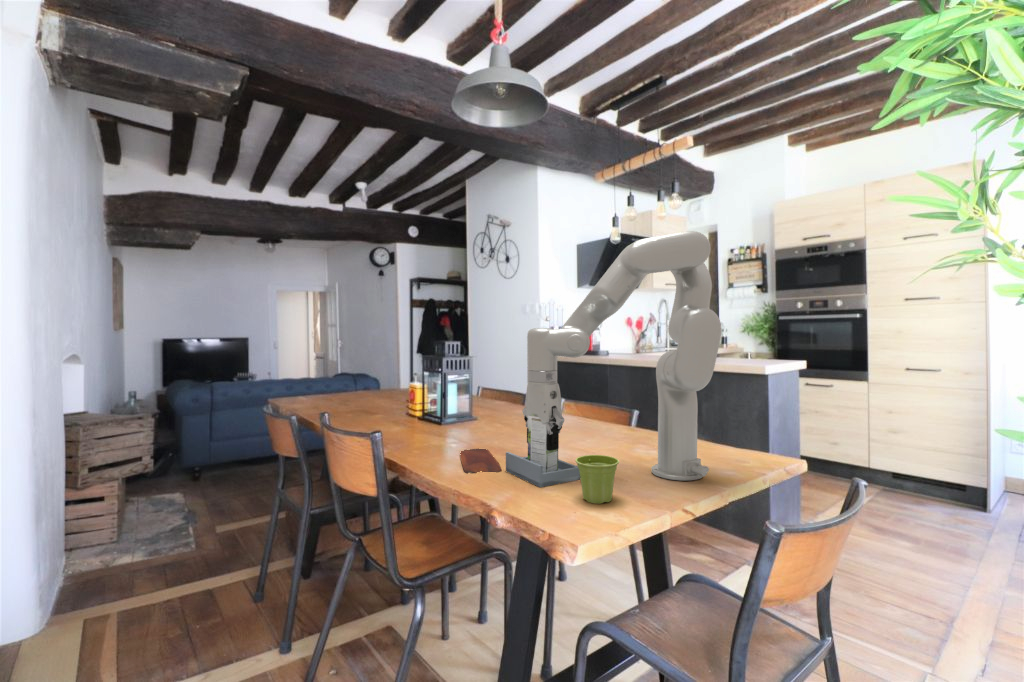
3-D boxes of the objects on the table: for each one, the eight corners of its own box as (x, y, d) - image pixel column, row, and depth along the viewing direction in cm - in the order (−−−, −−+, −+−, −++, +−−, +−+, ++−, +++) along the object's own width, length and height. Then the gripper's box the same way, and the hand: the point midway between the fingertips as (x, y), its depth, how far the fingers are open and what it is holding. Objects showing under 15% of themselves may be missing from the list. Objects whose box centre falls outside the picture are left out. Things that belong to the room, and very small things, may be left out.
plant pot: (570, 504, 108) (570, 463, 108) (580, 490, 117) (580, 453, 117) (615, 509, 105) (615, 467, 105) (621, 495, 114) (622, 456, 113)
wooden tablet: (503, 474, 132) (503, 468, 132) (464, 476, 130) (464, 470, 130) (489, 450, 158) (489, 444, 158) (457, 451, 156) (457, 445, 156)
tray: (580, 479, 125) (580, 459, 125) (539, 487, 119) (539, 466, 119) (544, 464, 139) (544, 446, 138) (505, 471, 132) (505, 452, 132)
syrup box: (539, 467, 133) (539, 411, 132) (559, 470, 129) (559, 413, 129) (527, 472, 128) (527, 414, 128) (546, 476, 125) (546, 417, 124)
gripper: (575, 379, 123) (575, 451, 123) (535, 373, 137) (535, 438, 138) (550, 381, 119) (550, 455, 119) (511, 375, 134) (511, 441, 134)
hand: (542, 445), depth 129 cm, fingers open, 8 cm apart
